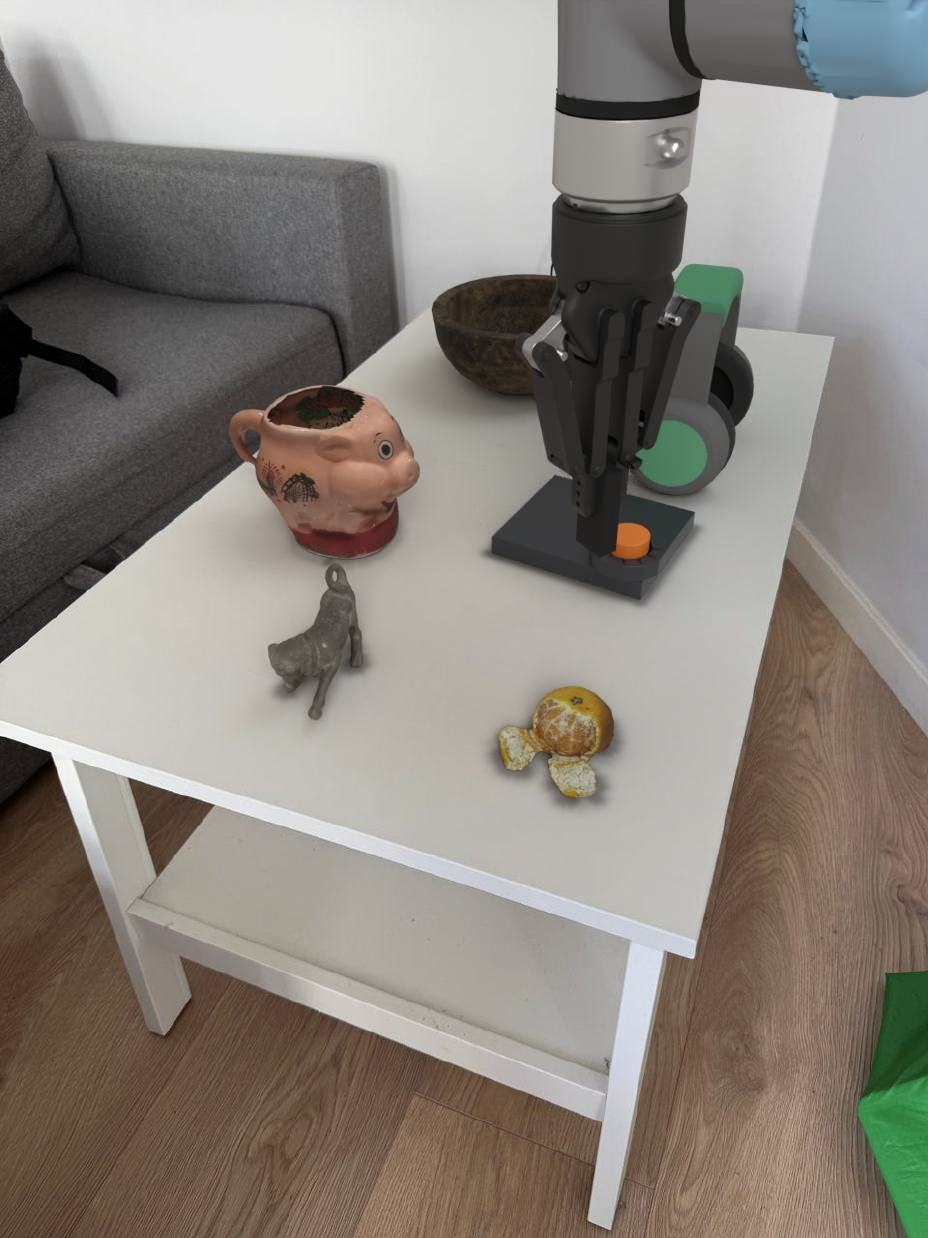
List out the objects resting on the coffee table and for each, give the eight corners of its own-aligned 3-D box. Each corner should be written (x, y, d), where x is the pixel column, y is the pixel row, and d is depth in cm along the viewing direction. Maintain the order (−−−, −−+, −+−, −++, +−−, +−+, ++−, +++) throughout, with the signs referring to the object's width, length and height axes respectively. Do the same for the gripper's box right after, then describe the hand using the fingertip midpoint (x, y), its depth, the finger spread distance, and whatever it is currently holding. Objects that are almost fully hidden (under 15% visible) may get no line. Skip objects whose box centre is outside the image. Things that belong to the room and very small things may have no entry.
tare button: (655, 543, 81) (656, 529, 80) (639, 564, 79) (640, 549, 78) (617, 533, 83) (618, 518, 82) (600, 553, 80) (601, 538, 79)
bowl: (560, 437, 104) (563, 352, 97) (402, 398, 113) (395, 319, 107) (636, 367, 118) (643, 289, 112) (490, 338, 127) (489, 264, 121)
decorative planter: (211, 550, 88) (177, 418, 79) (271, 488, 97) (247, 362, 88) (403, 585, 83) (390, 447, 74) (448, 515, 92) (441, 385, 83)
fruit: (485, 756, 66) (484, 720, 64) (547, 691, 71) (548, 656, 69) (584, 808, 62) (587, 772, 60) (642, 735, 67) (647, 699, 65)
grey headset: (654, 414, 107) (673, 236, 95) (749, 428, 104) (782, 246, 91) (611, 493, 94) (626, 298, 81) (718, 512, 90) (752, 312, 78)
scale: (700, 530, 88) (705, 499, 86) (644, 607, 79) (648, 574, 77) (554, 490, 95) (555, 460, 93) (487, 557, 86) (486, 525, 84)
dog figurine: (317, 623, 79) (305, 552, 74) (380, 634, 77) (371, 562, 73) (254, 720, 70) (236, 645, 65) (324, 733, 68) (310, 659, 64)
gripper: (568, 231, 46) (554, 604, 60) (754, 187, 51) (699, 540, 66) (485, 200, 51) (491, 551, 65) (662, 163, 56) (631, 495, 71)
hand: (595, 545), depth 66 cm, fingers closed
